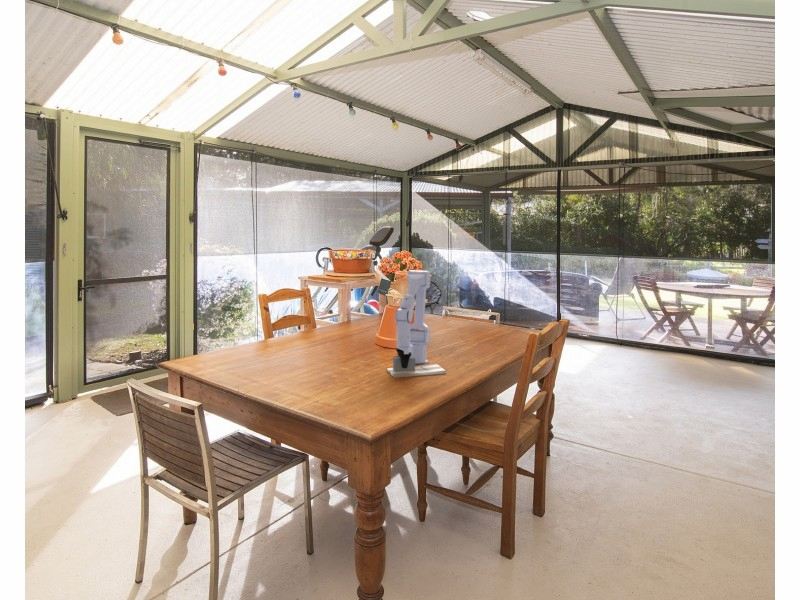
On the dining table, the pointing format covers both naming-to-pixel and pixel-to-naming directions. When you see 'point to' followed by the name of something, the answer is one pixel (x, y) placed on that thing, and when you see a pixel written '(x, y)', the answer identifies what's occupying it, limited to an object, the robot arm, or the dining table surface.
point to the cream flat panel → (419, 371)
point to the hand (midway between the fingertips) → (403, 366)
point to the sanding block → (398, 367)
